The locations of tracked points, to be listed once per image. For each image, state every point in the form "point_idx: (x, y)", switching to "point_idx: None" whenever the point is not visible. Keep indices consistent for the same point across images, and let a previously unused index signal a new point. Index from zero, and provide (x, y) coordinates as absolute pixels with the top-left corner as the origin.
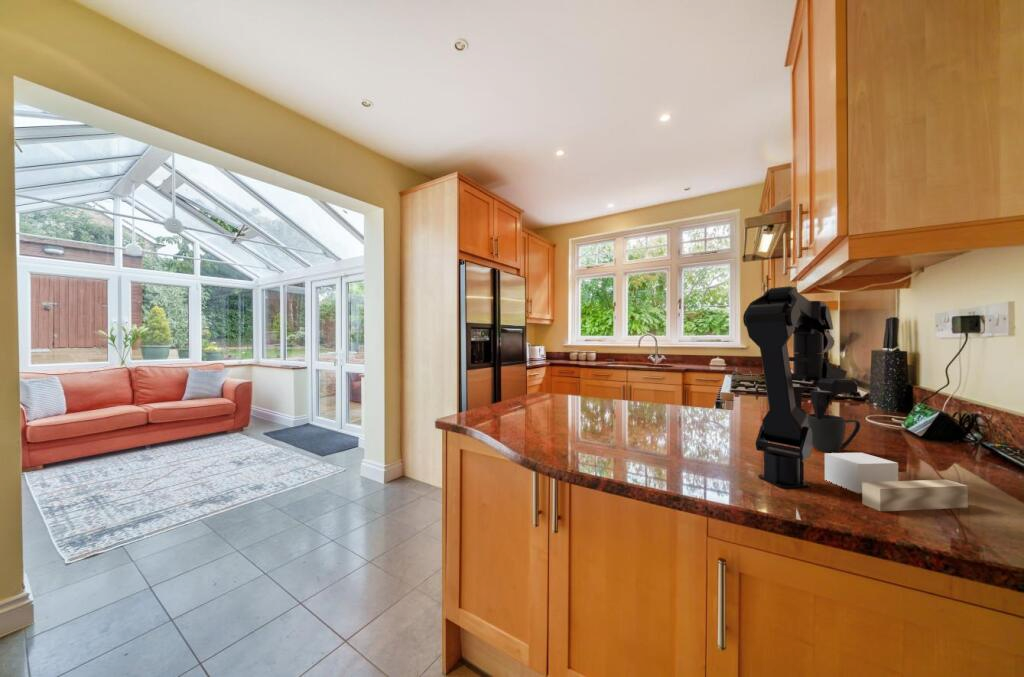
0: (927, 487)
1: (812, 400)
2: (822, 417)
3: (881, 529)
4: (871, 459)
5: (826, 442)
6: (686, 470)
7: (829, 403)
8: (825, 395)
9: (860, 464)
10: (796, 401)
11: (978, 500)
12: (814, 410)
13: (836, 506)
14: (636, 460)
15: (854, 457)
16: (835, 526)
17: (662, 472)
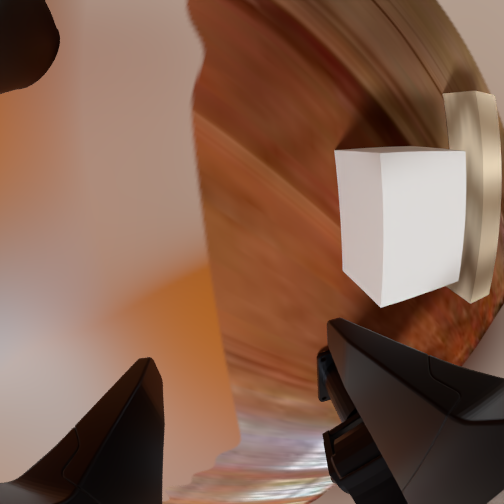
0: (500, 193)
1: (403, 476)
2: (348, 322)
3: (481, 314)
4: (442, 202)
5: (38, 58)
6: (278, 466)
7: (458, 366)
8: (484, 449)
9: (458, 272)
10: (138, 462)
11: (430, 28)
12: (362, 405)
13: (439, 330)
14: (234, 496)
15: (424, 241)
16: (462, 357)
17: (288, 481)
